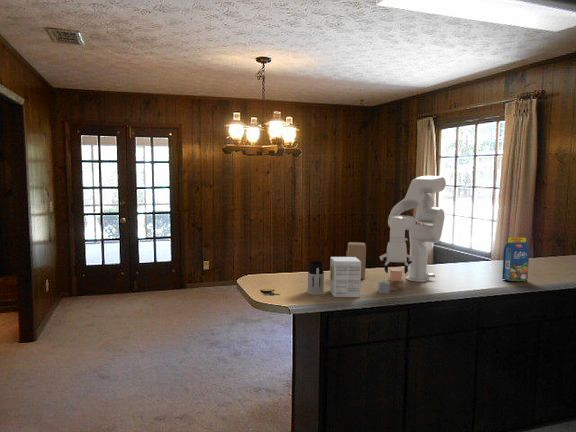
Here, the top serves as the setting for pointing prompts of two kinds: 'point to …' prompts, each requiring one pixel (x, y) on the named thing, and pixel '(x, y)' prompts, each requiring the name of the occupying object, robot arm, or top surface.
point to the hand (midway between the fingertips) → (396, 272)
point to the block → (358, 254)
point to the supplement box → (345, 276)
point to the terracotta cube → (396, 275)
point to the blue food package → (516, 260)
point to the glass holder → (316, 278)
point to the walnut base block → (396, 285)
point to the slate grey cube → (383, 287)
